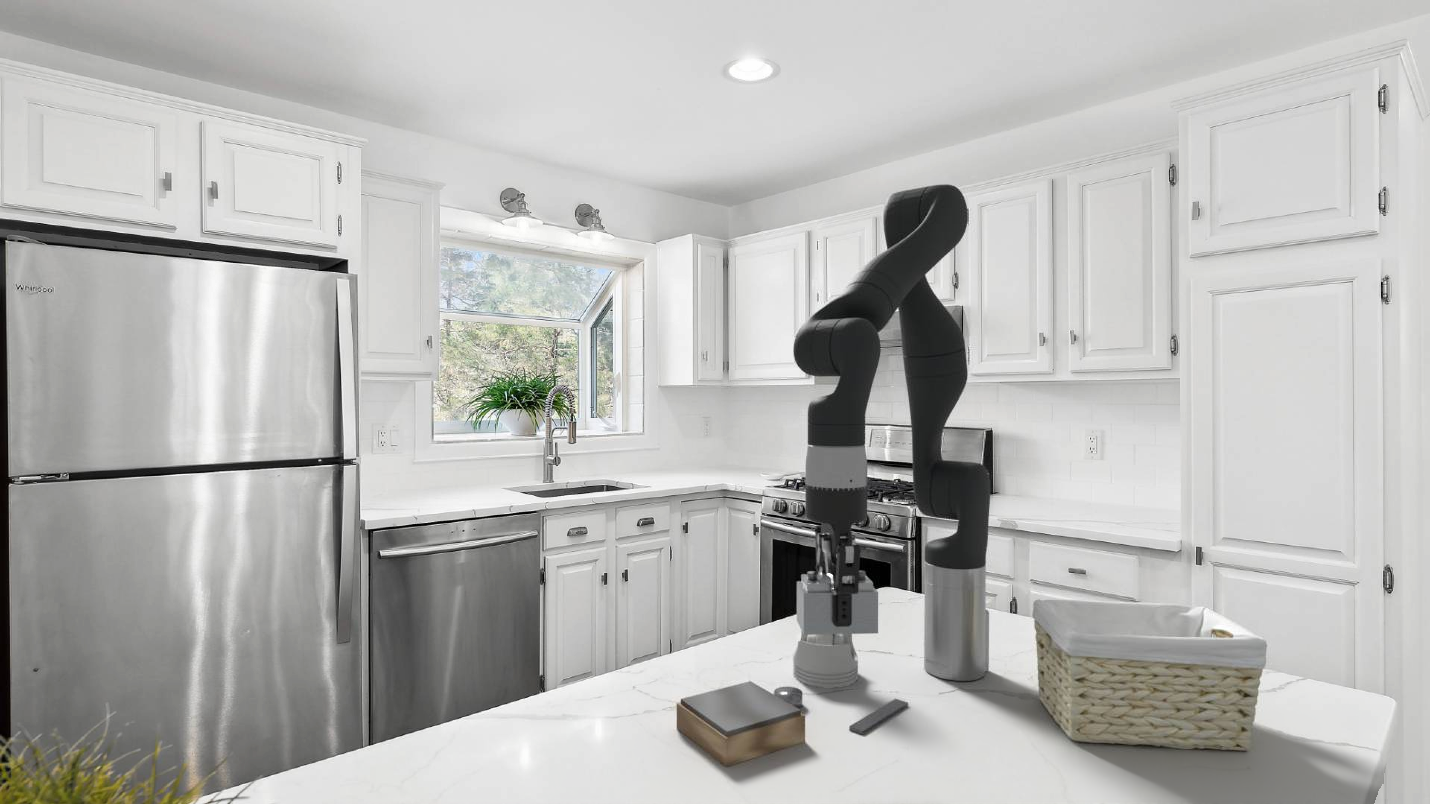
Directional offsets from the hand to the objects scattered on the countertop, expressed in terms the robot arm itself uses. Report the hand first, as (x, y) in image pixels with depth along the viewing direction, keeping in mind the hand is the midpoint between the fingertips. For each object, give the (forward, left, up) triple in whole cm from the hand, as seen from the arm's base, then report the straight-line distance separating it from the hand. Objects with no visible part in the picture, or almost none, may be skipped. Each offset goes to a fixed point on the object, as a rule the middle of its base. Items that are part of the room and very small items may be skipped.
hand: (835, 617), depth 94 cm
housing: (0, 0, -1) cm, 1 cm away
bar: (-11, -4, -17) cm, 21 cm away
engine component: (-15, -20, -17) cm, 30 cm away
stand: (+8, -10, -17) cm, 21 cm away
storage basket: (-39, +16, -17) cm, 45 cm away
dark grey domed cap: (-3, -14, -17) cm, 22 cm away
